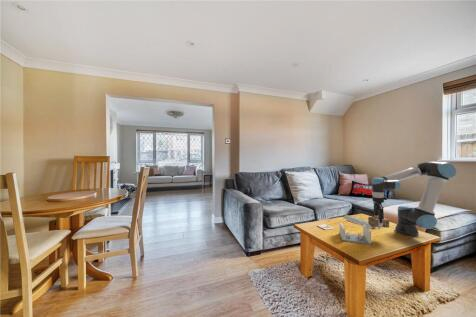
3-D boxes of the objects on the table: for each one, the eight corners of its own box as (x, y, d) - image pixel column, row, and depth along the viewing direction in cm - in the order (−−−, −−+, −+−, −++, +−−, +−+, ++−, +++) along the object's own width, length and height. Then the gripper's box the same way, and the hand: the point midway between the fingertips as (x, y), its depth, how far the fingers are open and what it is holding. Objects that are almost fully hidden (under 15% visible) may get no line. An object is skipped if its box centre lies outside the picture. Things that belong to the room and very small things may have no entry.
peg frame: (365, 236, 153) (366, 225, 153) (371, 244, 140) (371, 231, 139) (338, 233, 160) (339, 222, 159) (342, 240, 146) (342, 228, 146)
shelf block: (384, 224, 151) (384, 217, 150) (389, 227, 145) (389, 220, 145) (368, 223, 153) (368, 216, 153) (372, 226, 147) (372, 219, 147)
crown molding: (380, 228, 171) (380, 224, 171) (370, 230, 168) (370, 226, 168) (351, 217, 201) (351, 214, 201) (342, 218, 198) (342, 215, 198)
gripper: (368, 194, 159) (369, 220, 159) (377, 199, 140) (377, 229, 141) (378, 194, 156) (379, 221, 157) (389, 200, 138) (389, 230, 138)
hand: (378, 225), depth 149 cm, fingers closed on shelf block, 6 cm apart
